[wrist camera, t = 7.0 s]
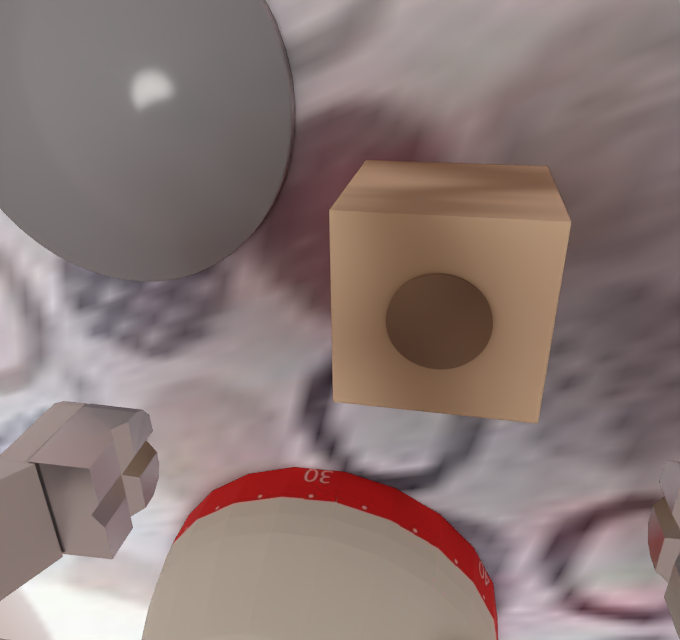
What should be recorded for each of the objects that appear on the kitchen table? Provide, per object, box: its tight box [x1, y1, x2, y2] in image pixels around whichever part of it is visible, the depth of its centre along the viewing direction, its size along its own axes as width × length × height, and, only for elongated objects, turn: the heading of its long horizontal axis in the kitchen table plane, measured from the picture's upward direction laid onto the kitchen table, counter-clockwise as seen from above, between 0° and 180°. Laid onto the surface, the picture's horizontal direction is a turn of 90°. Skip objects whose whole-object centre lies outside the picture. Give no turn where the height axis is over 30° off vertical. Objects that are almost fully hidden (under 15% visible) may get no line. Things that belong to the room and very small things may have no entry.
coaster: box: [0, 0, 295, 281], centre depth 18 cm, size 11×11×1 cm
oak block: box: [329, 160, 571, 423], centre depth 16 cm, size 5×5×5 cm
